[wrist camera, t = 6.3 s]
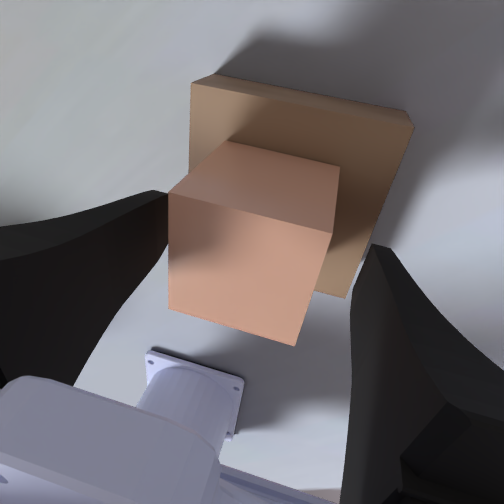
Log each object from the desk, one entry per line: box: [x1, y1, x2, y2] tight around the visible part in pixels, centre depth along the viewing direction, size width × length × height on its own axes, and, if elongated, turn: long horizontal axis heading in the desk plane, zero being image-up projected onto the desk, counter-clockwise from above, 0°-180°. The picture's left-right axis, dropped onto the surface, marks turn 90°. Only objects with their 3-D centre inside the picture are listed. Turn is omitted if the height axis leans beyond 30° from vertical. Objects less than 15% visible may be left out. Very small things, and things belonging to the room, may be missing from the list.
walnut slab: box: [189, 74, 415, 299], centre depth 16 cm, size 8×8×3 cm
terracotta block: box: [168, 140, 340, 346], centre depth 12 cm, size 4×4×5 cm
